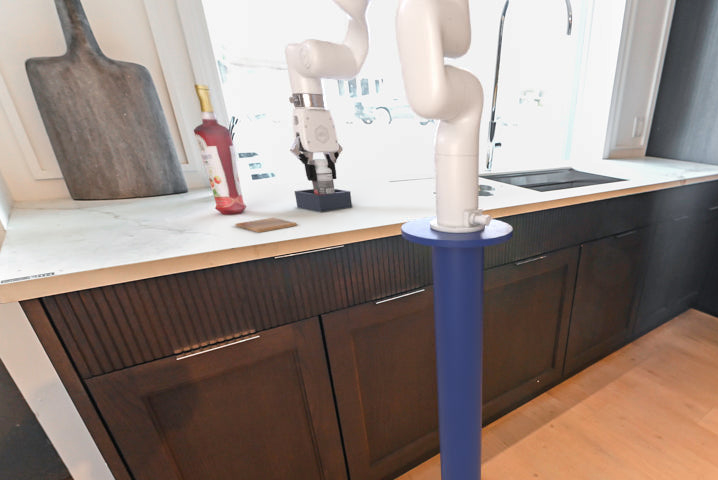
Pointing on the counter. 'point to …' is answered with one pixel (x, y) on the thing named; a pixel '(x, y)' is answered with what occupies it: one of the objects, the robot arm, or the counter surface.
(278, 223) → the coaster
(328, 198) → the bin
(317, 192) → the pill bottle
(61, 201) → the counter surface
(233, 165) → the liquor
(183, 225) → the counter surface
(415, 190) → the counter surface
